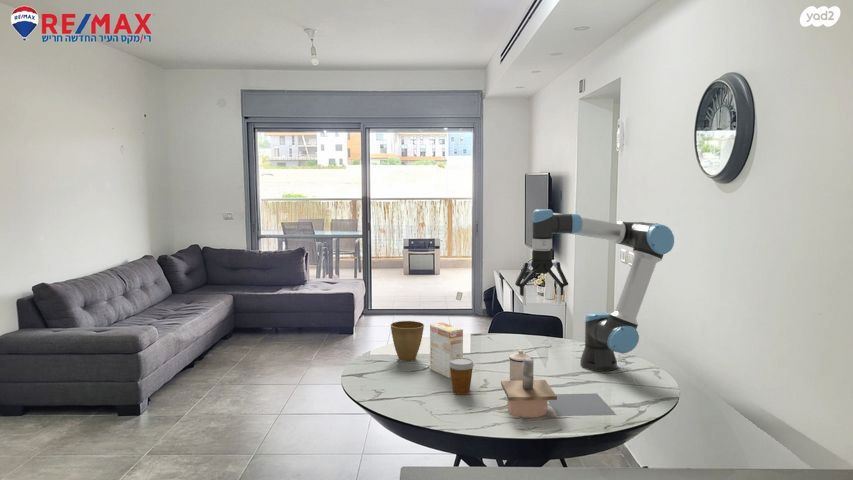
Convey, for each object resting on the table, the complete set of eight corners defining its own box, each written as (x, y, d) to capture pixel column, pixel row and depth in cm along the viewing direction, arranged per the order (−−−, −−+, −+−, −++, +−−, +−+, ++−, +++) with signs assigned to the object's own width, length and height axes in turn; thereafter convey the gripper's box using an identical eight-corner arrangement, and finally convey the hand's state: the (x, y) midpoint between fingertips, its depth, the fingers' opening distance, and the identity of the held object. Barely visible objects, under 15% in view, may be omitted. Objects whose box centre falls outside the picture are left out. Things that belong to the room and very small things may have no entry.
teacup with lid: (535, 381, 232) (536, 352, 231) (514, 383, 230) (514, 354, 229) (523, 371, 244) (523, 344, 243) (503, 373, 242) (503, 346, 241)
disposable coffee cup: (447, 387, 226) (447, 357, 224) (471, 387, 226) (471, 356, 225) (450, 396, 216) (450, 365, 215) (475, 395, 217) (475, 364, 216)
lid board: (545, 383, 210) (545, 352, 209) (556, 399, 194) (557, 366, 193) (500, 384, 209) (501, 353, 208) (508, 400, 193) (509, 367, 192)
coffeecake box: (463, 375, 240) (463, 329, 238) (449, 379, 236) (449, 331, 234) (443, 366, 252) (443, 321, 250) (429, 369, 248) (429, 324, 247)
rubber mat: (596, 394, 217) (596, 393, 217) (616, 416, 197) (616, 414, 197) (543, 396, 216) (543, 394, 216) (557, 417, 197) (557, 415, 197)
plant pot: (412, 366, 252) (412, 330, 251) (384, 360, 260) (383, 325, 258) (430, 357, 265) (430, 322, 263) (403, 352, 272) (402, 318, 271)
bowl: (541, 403, 209) (541, 384, 208) (550, 418, 196) (551, 398, 195) (505, 404, 208) (505, 385, 208) (512, 419, 196) (512, 398, 195)
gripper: (511, 251, 221) (511, 306, 223) (577, 250, 222) (575, 305, 224) (508, 248, 228) (507, 302, 231) (571, 248, 229) (570, 301, 232)
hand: (541, 303), depth 227 cm, fingers open, 13 cm apart
